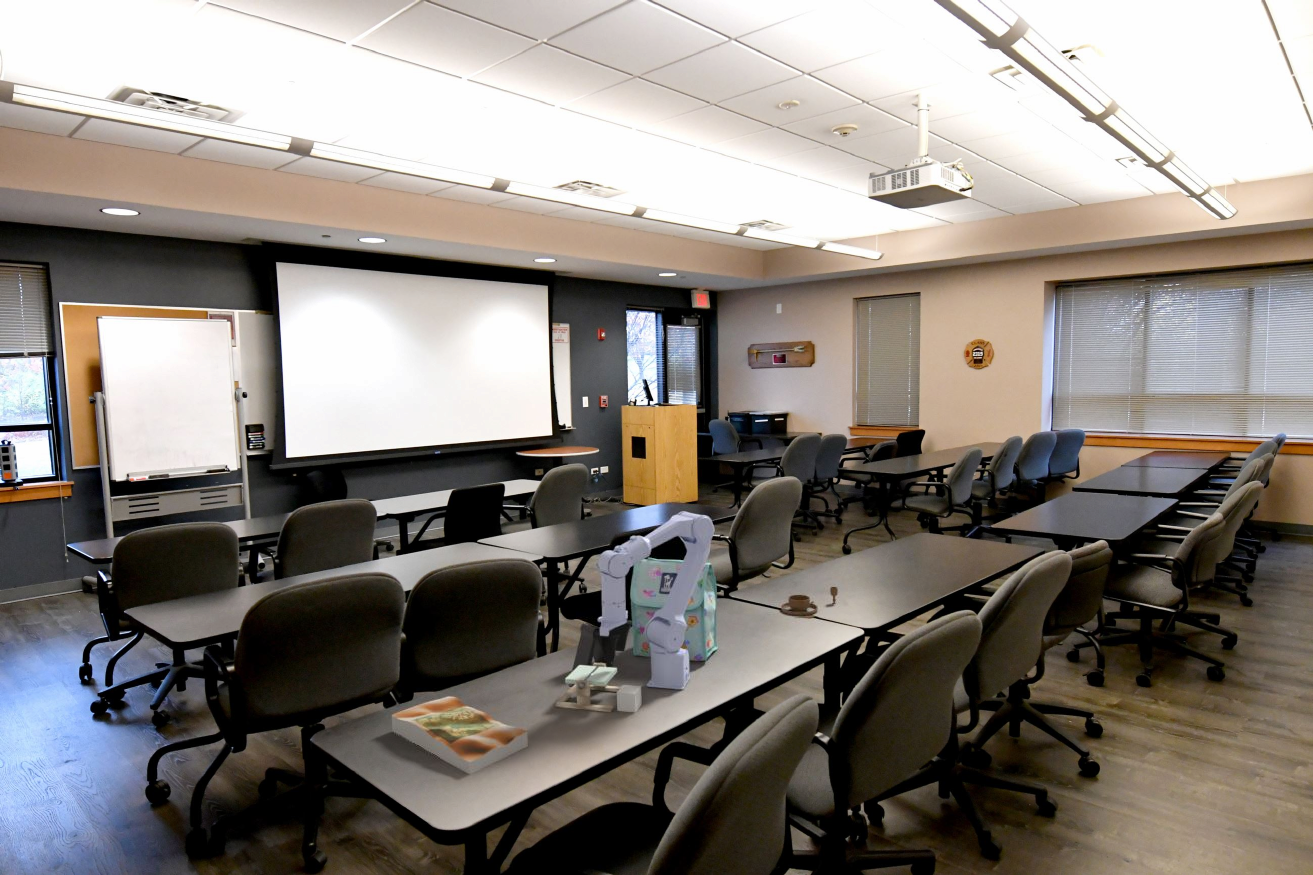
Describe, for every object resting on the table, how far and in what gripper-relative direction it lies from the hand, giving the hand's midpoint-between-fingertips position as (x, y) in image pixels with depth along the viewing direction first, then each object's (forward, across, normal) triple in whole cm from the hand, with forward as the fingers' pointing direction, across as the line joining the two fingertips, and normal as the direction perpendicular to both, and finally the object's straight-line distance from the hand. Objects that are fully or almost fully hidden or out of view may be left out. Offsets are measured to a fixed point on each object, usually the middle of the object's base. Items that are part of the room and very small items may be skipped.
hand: (614, 656), depth 181 cm
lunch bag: (+10, -33, +6) cm, 35 cm away
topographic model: (+12, +27, -27) cm, 40 cm away
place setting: (+9, -79, +40) cm, 89 cm away
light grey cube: (+10, +4, +5) cm, 12 cm away
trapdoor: (+7, +1, -6) cm, 9 cm away
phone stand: (+11, -17, -12) cm, 23 cm away
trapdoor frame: (+10, +1, -6) cm, 12 cm away
